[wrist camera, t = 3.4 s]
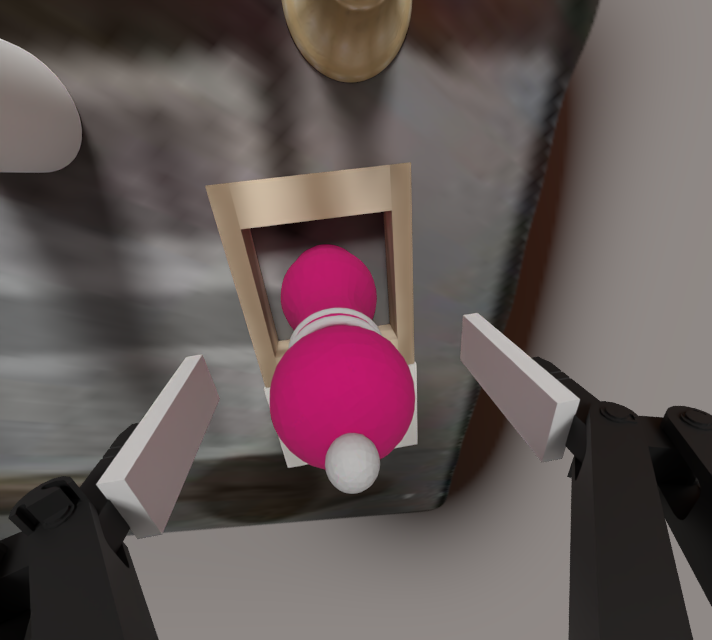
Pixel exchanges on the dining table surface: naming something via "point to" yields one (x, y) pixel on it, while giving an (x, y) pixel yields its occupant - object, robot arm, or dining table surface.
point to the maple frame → (305, 203)
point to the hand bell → (348, 34)
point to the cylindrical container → (34, 115)
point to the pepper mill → (338, 372)
